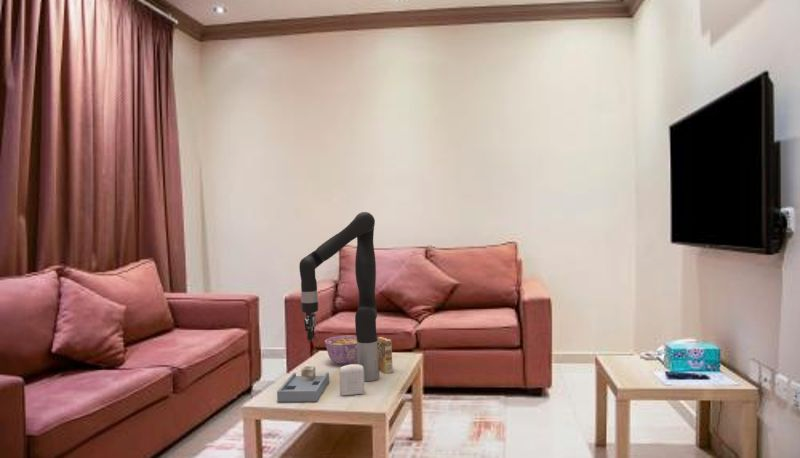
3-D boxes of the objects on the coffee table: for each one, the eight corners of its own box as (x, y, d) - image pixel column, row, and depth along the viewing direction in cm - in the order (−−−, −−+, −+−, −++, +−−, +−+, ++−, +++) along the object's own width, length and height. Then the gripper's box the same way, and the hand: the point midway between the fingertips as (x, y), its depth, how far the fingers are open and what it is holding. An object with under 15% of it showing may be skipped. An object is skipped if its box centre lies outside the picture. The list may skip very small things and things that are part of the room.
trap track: (329, 382, 261) (328, 372, 261) (316, 402, 235) (316, 391, 235) (293, 382, 262) (293, 372, 262) (277, 402, 236) (277, 391, 236)
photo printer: (363, 391, 247) (362, 362, 247) (365, 394, 243) (364, 364, 243) (339, 393, 245) (338, 364, 244) (340, 396, 241) (339, 367, 240)
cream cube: (315, 377, 259) (315, 366, 259) (313, 380, 254) (312, 369, 254) (304, 377, 259) (303, 366, 259) (301, 381, 254) (301, 369, 254)
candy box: (393, 372, 274) (392, 339, 273) (385, 373, 271) (384, 341, 271) (383, 368, 281) (382, 336, 280) (375, 369, 279) (374, 337, 278)
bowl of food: (356, 369, 280) (355, 345, 280) (318, 367, 286) (317, 343, 286) (371, 358, 299) (370, 336, 299) (335, 356, 305) (334, 334, 305)
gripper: (314, 303, 255) (315, 342, 256) (321, 298, 269) (322, 335, 270) (297, 303, 256) (299, 342, 256) (305, 298, 270) (306, 335, 271)
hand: (311, 338), depth 263 cm, fingers open, 3 cm apart
